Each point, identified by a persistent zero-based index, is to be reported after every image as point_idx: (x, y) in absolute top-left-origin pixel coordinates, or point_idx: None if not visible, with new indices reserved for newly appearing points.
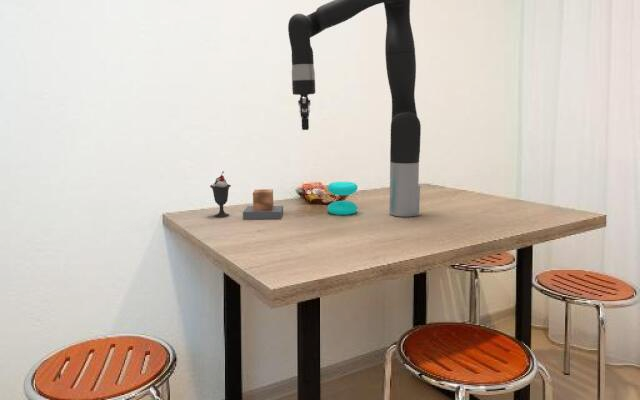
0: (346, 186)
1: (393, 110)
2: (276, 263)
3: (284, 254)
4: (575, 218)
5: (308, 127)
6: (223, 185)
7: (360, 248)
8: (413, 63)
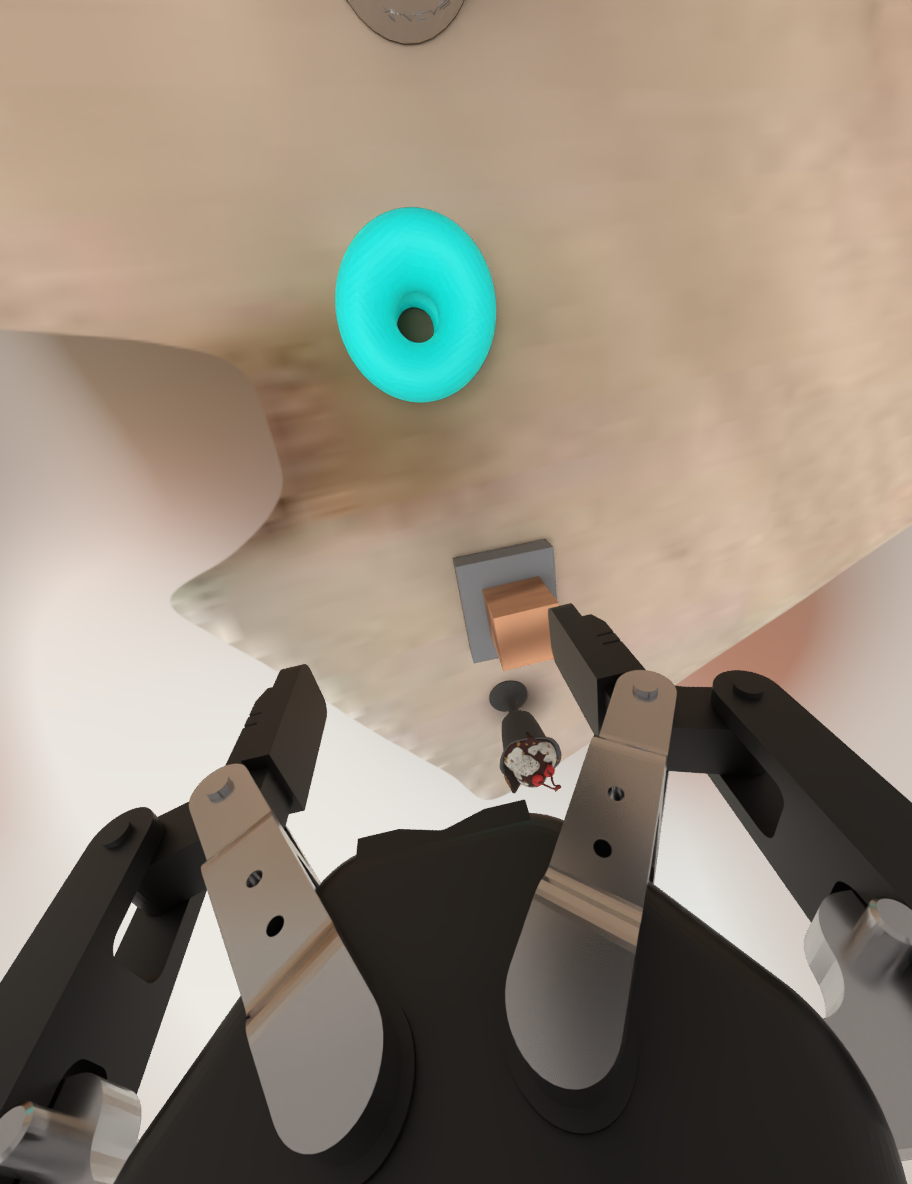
0: (486, 274)
1: None
2: None
3: (906, 426)
4: None
5: (576, 611)
6: (552, 748)
7: None
8: None
